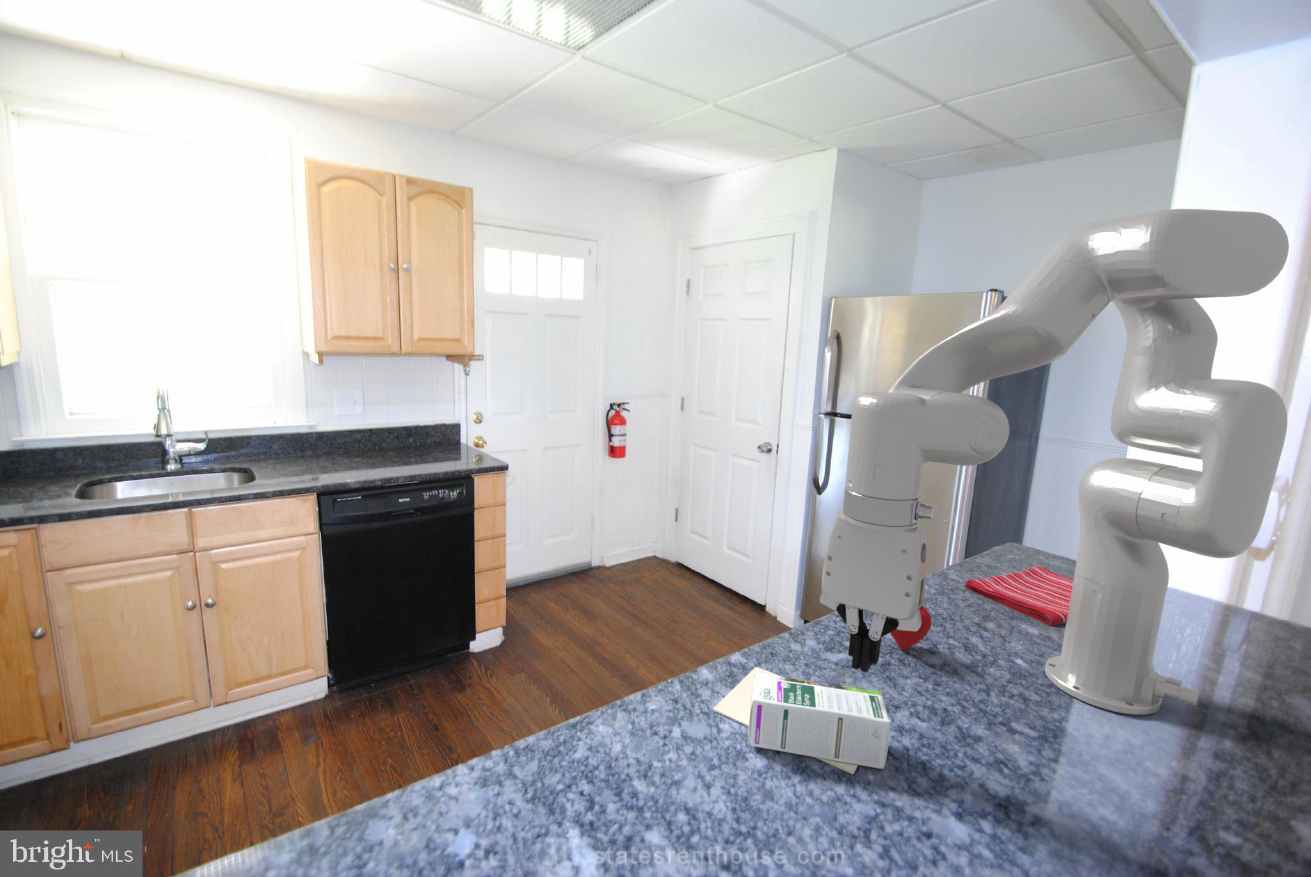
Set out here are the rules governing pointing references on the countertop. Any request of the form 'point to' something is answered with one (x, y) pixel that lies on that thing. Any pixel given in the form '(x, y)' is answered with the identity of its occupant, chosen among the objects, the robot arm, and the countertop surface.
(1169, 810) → the countertop surface
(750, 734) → the syrup box
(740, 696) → the cream mat
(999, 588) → the dish towel
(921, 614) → the strawberry
